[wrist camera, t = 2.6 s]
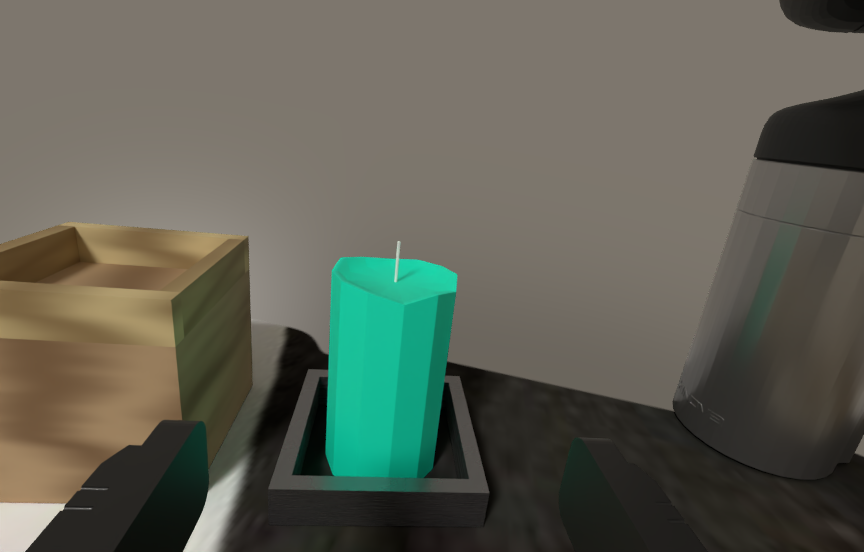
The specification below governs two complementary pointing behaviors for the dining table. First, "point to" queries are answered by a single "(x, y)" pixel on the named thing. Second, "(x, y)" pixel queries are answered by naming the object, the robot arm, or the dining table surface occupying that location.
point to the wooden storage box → (115, 347)
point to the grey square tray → (377, 495)
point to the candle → (387, 365)
